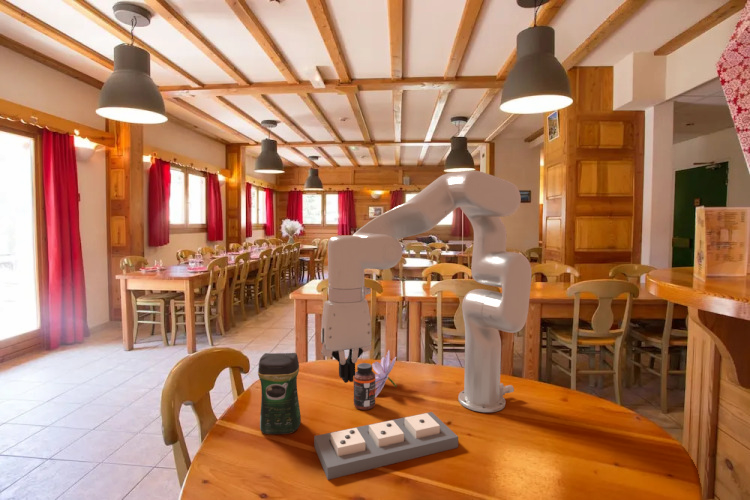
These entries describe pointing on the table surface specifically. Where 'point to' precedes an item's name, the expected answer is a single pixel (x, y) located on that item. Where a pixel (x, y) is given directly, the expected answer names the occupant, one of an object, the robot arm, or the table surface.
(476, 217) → the robot arm
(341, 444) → the tile
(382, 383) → the water lily
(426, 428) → the tile
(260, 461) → the table surface
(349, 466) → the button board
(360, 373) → the supplement bottle
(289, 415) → the coffee jar
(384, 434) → the tile
